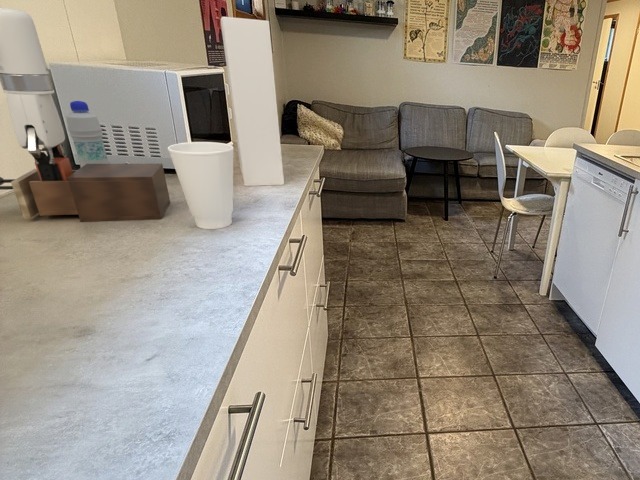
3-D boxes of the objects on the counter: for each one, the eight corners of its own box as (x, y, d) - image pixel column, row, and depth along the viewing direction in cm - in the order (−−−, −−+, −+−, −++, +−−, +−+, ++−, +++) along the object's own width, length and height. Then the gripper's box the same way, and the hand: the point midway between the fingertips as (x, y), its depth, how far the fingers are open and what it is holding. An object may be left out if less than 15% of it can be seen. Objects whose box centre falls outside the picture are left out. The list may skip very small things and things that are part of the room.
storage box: (284, 184, 133) (269, 20, 114) (244, 186, 129) (221, 16, 110) (275, 168, 149) (261, 23, 131) (240, 169, 145) (220, 19, 127)
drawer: (-17, 219, 92) (-32, 182, 88) (9, 203, 101) (-4, 168, 98) (103, 215, 98) (93, 180, 95) (117, 200, 107) (108, 168, 104)
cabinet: (80, 221, 97) (66, 177, 92) (97, 204, 107) (86, 163, 103) (161, 219, 101) (151, 176, 97) (170, 202, 112) (162, 163, 108)
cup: (224, 212, 108) (212, 139, 101) (255, 224, 103) (245, 148, 95) (171, 223, 100) (155, 145, 92) (202, 237, 94) (187, 155, 86)
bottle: (119, 181, 124) (98, 100, 115) (112, 188, 119) (89, 102, 109) (89, 181, 122) (65, 98, 113) (80, 188, 117) (54, 101, 107)
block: (41, 184, 95) (34, 162, 93) (49, 179, 99) (42, 157, 97) (67, 184, 96) (61, 162, 94) (74, 178, 100) (68, 157, 98)
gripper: (21, 80, 95) (51, 171, 103) (-20, 87, 81) (18, 192, 89) (66, 82, 97) (91, 171, 106) (33, 88, 83) (66, 191, 92)
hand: (57, 179), depth 97 cm, fingers closed on block, 4 cm apart
